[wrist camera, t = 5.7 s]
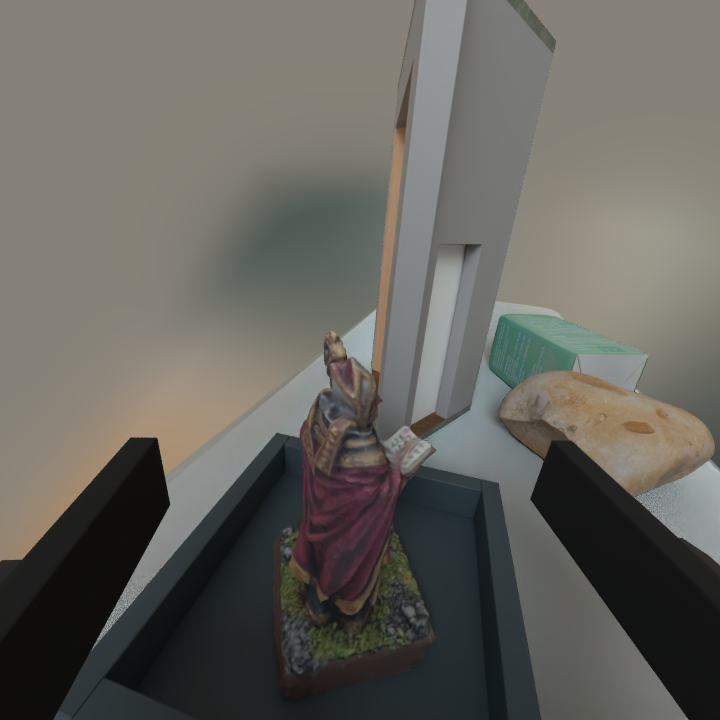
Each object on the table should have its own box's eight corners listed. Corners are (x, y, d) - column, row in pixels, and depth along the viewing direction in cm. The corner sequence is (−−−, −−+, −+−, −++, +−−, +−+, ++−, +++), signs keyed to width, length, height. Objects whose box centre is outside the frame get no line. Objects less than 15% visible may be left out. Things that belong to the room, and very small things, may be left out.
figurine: (272, 708, 11) (254, 409, 7) (273, 540, 17) (263, 315, 12) (443, 663, 13) (527, 393, 8) (390, 522, 19) (422, 316, 14)
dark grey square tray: (70, 754, 11) (42, 706, 9) (277, 468, 23) (276, 432, 22) (543, 996, 8) (587, 970, 7) (487, 520, 20) (498, 482, 19)
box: (537, 367, 44) (554, 312, 41) (622, 426, 32) (655, 354, 29) (485, 366, 43) (499, 310, 40) (552, 427, 31) (578, 353, 28)
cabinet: (371, 361, 42) (398, 85, 31) (448, 368, 42) (501, 93, 31) (371, 483, 23) (441, -137, 12) (513, 494, 23) (716, -115, 12)
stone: (663, 418, 29) (750, 380, 22) (664, 547, 25) (772, 553, 18) (502, 372, 32) (531, 327, 25) (478, 479, 28) (505, 461, 21)
